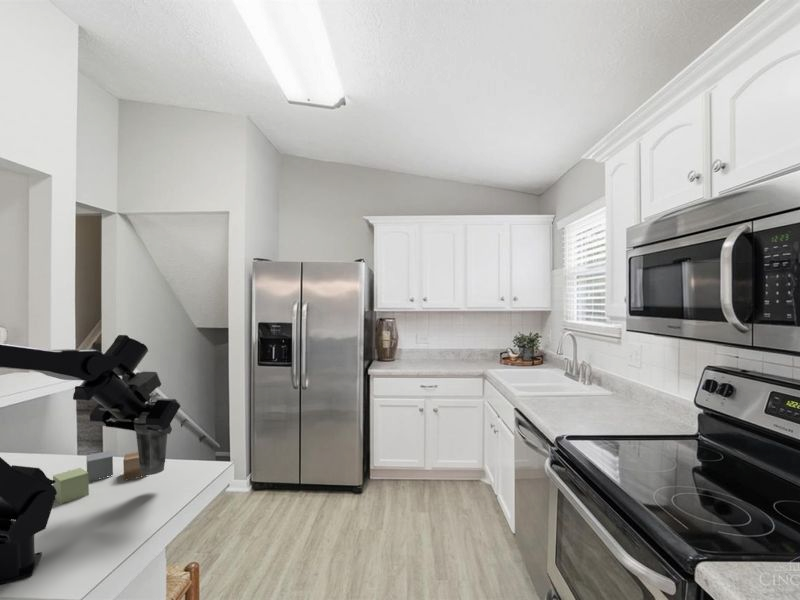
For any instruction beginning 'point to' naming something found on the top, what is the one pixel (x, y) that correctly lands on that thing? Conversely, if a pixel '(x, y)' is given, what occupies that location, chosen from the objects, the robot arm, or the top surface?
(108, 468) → the charcoal block
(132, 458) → the walnut block
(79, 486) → the olive block
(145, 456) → the beverage cup
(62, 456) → the top surface
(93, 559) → the top surface
